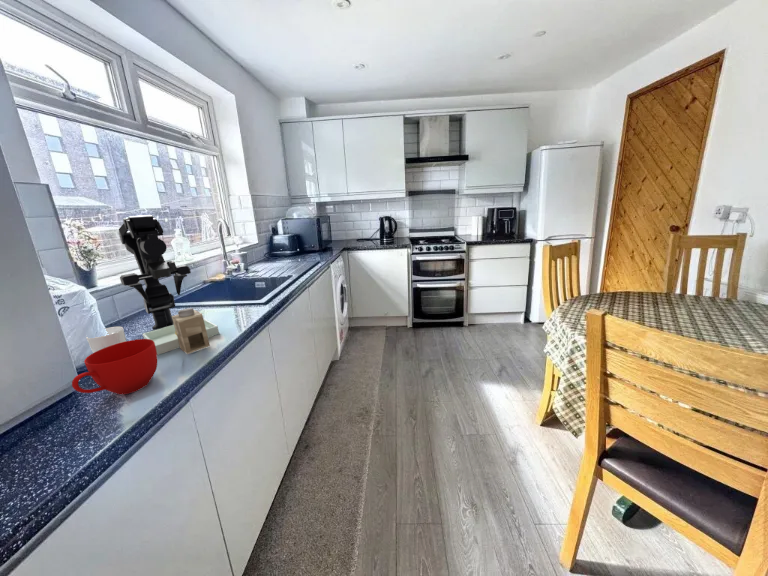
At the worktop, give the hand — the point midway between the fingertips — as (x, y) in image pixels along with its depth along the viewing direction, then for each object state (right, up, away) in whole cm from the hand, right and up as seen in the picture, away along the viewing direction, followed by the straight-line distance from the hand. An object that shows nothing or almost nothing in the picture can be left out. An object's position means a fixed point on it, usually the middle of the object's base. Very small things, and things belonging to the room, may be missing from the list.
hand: (163, 298), depth 104 cm
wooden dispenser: (+17, -15, -10) cm, 25 cm away
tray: (+8, -13, -2) cm, 16 cm away
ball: (+7, -11, -2) cm, 14 cm away
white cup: (-2, -19, -16) cm, 25 cm away
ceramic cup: (+14, -22, -31) cm, 40 cm away
